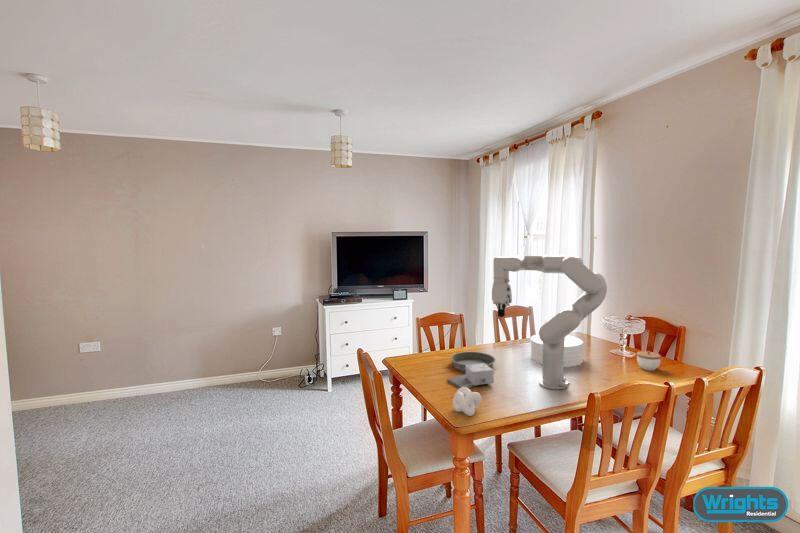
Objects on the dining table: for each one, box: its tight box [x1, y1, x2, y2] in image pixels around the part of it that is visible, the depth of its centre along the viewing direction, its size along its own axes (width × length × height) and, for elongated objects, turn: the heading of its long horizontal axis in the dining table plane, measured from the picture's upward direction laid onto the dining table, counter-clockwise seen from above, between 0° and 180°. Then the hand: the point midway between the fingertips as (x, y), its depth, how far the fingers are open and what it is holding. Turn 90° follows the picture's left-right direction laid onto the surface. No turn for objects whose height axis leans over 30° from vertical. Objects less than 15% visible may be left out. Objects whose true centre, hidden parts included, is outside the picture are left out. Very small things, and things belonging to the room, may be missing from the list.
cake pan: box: [450, 351, 496, 372], centre depth 212 cm, size 25×25×4 cm
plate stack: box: [530, 333, 584, 368], centre depth 220 cm, size 28×28×12 cm
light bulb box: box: [465, 363, 495, 386], centre depth 186 cm, size 11×7×11 cm
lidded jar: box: [636, 350, 662, 371], centre depth 201 cm, size 11×11×9 cm
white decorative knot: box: [452, 387, 482, 417], centre depth 157 cm, size 11×12×9 cm
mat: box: [446, 373, 478, 389], centre depth 188 cm, size 12×14×1 cm
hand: (501, 316), depth 193 cm, fingers closed
